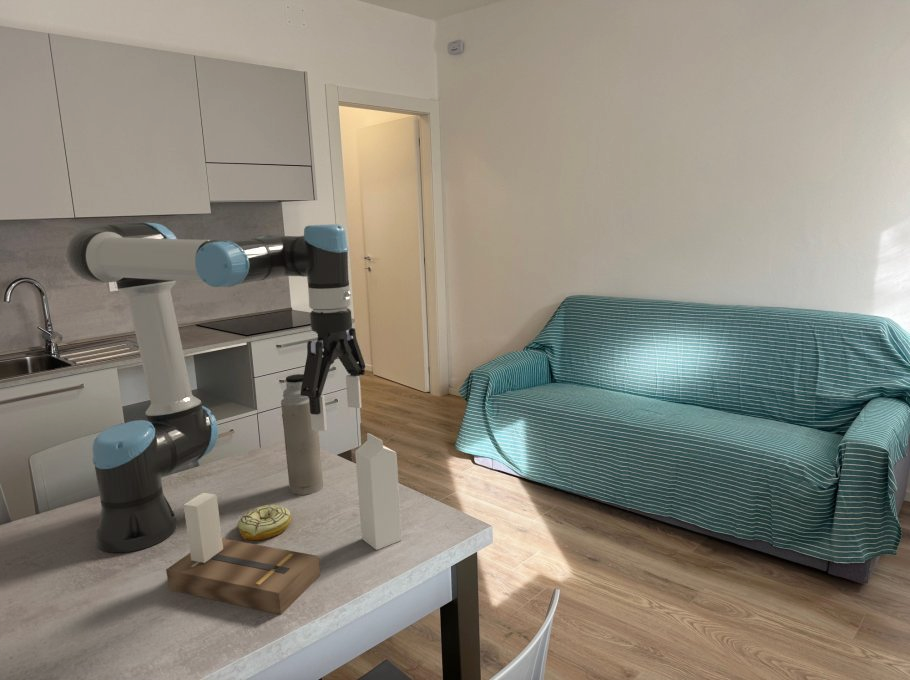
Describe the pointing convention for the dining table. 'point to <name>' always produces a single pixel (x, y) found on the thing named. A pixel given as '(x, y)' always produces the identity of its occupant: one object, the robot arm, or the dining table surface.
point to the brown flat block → (247, 576)
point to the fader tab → (203, 527)
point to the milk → (378, 493)
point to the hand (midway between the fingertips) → (337, 417)
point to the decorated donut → (264, 522)
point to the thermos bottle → (300, 440)
